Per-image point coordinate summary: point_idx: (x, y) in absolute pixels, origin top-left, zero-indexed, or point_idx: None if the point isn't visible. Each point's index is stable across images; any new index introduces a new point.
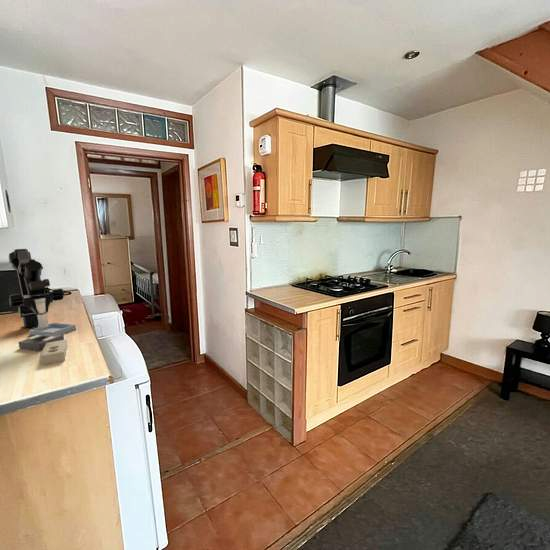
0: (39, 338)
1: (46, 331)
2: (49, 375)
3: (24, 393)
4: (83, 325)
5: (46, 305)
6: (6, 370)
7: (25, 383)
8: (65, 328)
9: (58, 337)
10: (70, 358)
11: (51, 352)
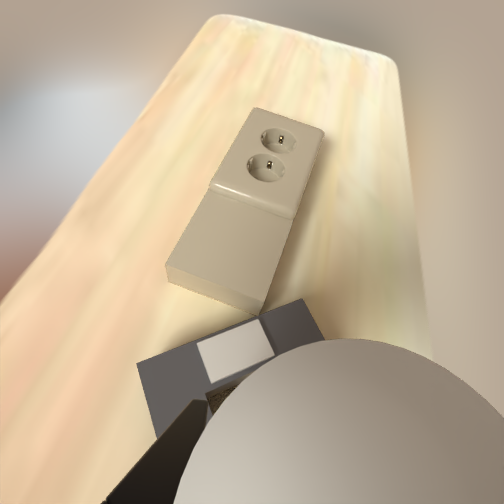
0: None
1: None
2: (309, 90)
3: (364, 62)
4: None
5: (176, 477)
6: (409, 207)
7: (361, 95)
8: None
9: (177, 348)
10: (228, 139)
11: (287, 129)
